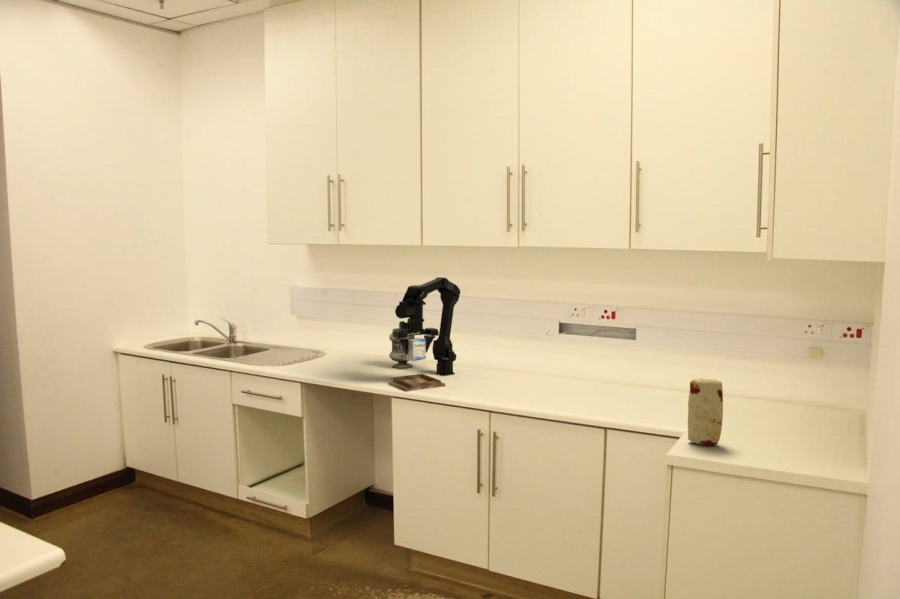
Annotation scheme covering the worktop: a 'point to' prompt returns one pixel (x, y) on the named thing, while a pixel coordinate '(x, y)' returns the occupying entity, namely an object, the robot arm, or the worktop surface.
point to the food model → (705, 411)
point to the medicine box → (416, 349)
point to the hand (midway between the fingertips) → (416, 353)
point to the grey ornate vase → (399, 352)
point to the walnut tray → (415, 382)
